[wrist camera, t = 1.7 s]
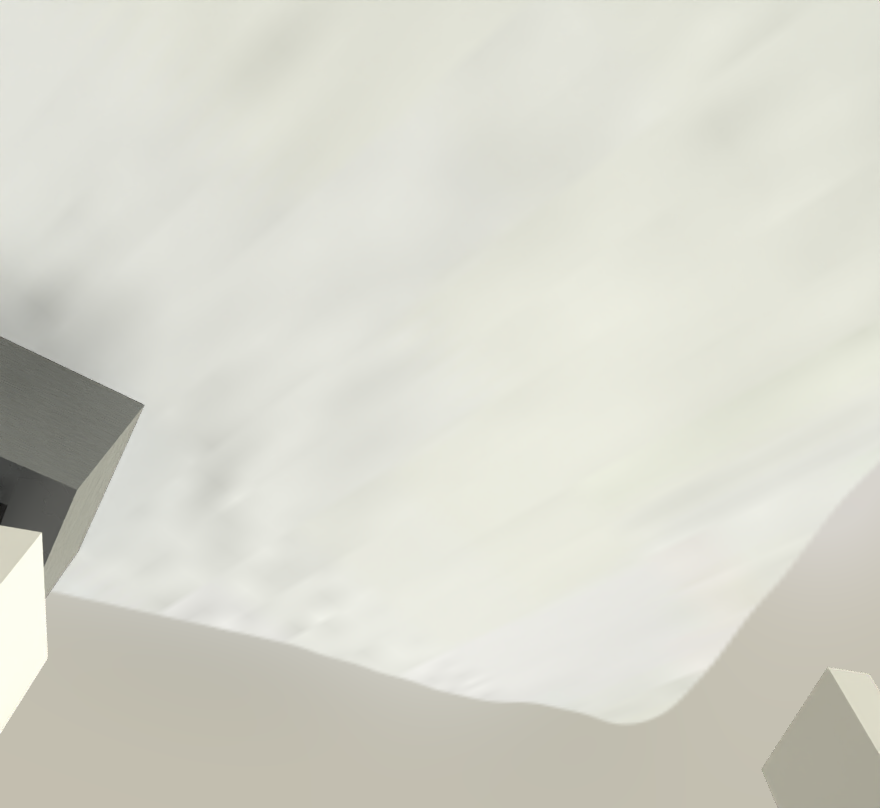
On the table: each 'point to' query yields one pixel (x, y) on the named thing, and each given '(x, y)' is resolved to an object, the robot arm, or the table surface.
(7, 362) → the housing
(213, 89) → the table surface
